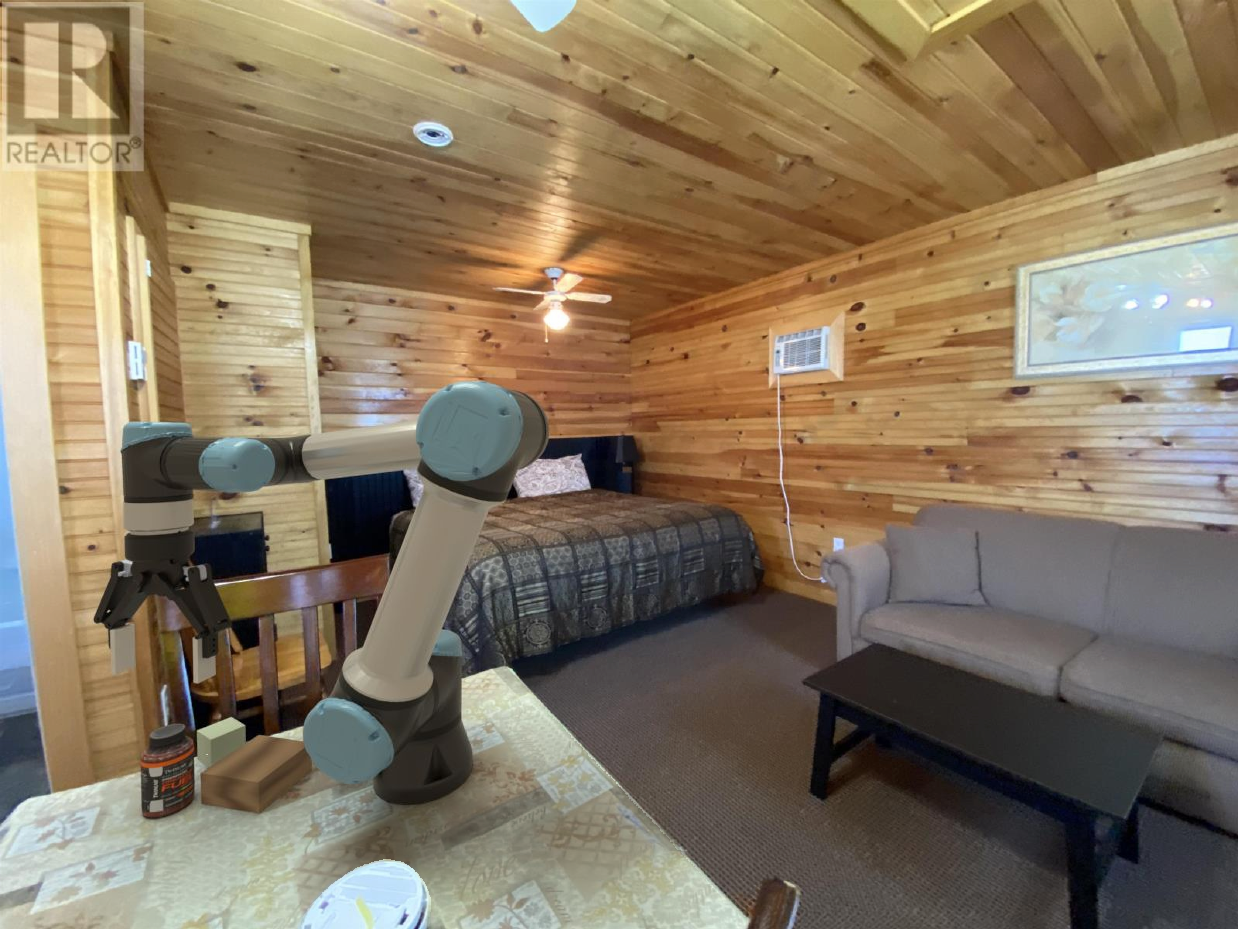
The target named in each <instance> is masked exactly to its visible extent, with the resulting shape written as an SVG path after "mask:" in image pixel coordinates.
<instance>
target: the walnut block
mask: <svg viewBox="0 0 1238 929" xmlns="http://www.w3.org/2000/svg"><path fill="white" fill-rule="evenodd" d="M312 771H313V762H312V761H311V757H310V755H309V754H308V753H307V751H306V749H305V745H304V741H303V740H298V739H297V740H296V739H290V738H283V737H276V736H269V735H262V734H259V735H256V736H255V737H253V738H251V740H249V741H246V744H244V745H243V746H241V747H240V748H238V749H237V750H235V751H233V752H232V753H230V754H229V755H227V756H226V757H224V758H223V759H221V760H220V761H218V762H216V763H215V764H213V765H212V766H210V767H207V768H205V769H204V770H202V771H201V772H200V804H201V805H205V806H206V805H207V806H212V807H216V808H217V807H218V808H222V809H230V810H235V811H242V812H247V813H253V814H258V815H260V814H261V813H262V812H263V811H265V810H266V809H267V808H268V807H269V806H270V805H271V804H273V803H274V802H275V801H276V800H278V799H279V798H280V797H281V796H283V795H284V794H286V792H288V790H290V789H291V788H292V787H294V786H295V785H296V784H298V782H300V781H301V780H302V779H303V778H304V777H305V776H307V775H309V773H311V772H312Z"/></svg>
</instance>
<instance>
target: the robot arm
mask: <svg viewBox="0 0 1238 929" xmlns="http://www.w3.org/2000/svg"><path fill="white" fill-rule="evenodd" d="M549 425H550V423H549V419H548V416H547V414H546V412H545V410H544V409H543V408H542V406H541V405H540V403H539V402H538V401H537V400H535V398H533V397H531V396H530V395H529V394H527V393H524V392H521V391H519V390H516V389H510V388H507V387H503V386H500V385H498V384H495V383H490V382H488V381H485V380H484V381H482V380H481V381H480V380H476V381H475V380H473V381H471V380H470V381H469V380H465V381H459V382H454V383H451V384H449V385H447V386H444V387H441V388H440V389H439V390H438V391H436V392H435V393H434V394H433V395H432V396H431V397H430V398H429V399H428V400H427V401H426V403H425V404H424V405H423V407H422V409H421V410H420V412H419V415H418V417H417V419H414V420H409V421H408V420H407V421H400V422H392V423H386V424H384V423H383V424H378V425H371V426H364V427H356V428H349V429H342V430H336V431H327V432H321V433H313V434H305V435H298V436H297V435H296V436H290V437H289V436H288V437H244V436H243V437H242V436H241V437H239V436H237V437H236V436H235V437H234V436H229V437H224V436H223V437H219V436H217V437H211V436H210V437H208V436H207V437H205V436H204V437H201V436H200V437H199V436H197V437H196V436H194V433H193V428H192V426H191V425H190V424H189V423H187V422H170V421H169V422H168V421H166V422H163V421H161V422H160V421H130V422H128V423H126V424H125V425H124V426H123V427H122V439H121V447H120V450H119V451H120V454H121V467H122V468H121V469H122V471H121V472H122V474H121V475H122V495H123V502H122V504H123V505H122V506H123V508H122V509H123V516H122V518H123V523H122V524H123V530H125V531H126V532H128V533H126V535H124V538H123V539H124V557H125V559H122V560H120V561H114V562H112V563H111V567H110V577H109V580H108V582H107V585H106V586H105V590H104V591H103V595H102V597H101V600H100V601H99V604H98V606H97V609H96V612H95V614H94V616H93V622H94V624H97V625H98V624H99V625H100V624H102V625H103V626H104V628H105V629H107V636H108V637H107V638H108V640H107V643H108V648H109V650H110V673H111V675H114V676H115V675H118V674H119V675H120V674H121V673H124V672H126V671H128V670H131V669H133V668H135V667H136V639H135V638H136V635H135V634H136V633H135V631H136V629H135V628H136V627H135V623H131V622H134V619H133V617H134V615H135V614H136V613H137V612H138V610H139V609H140V607H142V605H143V603H144V602H145V601H146V600H147V598H148V597H149V596H152V595H155V596H158V597H166V598H167V599H168V600H169V601H173V602H174V604H175V605H176V606H177V607H178V609H179V610H180V612H181V613H182V614H183V616H184V617H185V618H186V620H187V621H188V622H189V624H190V625H191V627H192V628H193V630H194V631H195V632H196V634H197V635H195V636H194V637H192V662H193V665H192V668H193V670H192V671H193V673H192V674H193V676H192V677H193V683H194V684H200V683H202V682H204V681H206V680H208V679H210V678H212V677H214V676H216V673H217V670H216V668H217V667H216V665H217V664H216V656H217V655H218V653H219V633H220V632H222V631H225V630H227V629H230V628H232V626H233V622H232V620H231V618H230V616H229V613H228V611H227V609H226V606H225V604H224V602H223V600H222V598H221V595H220V593H219V591H218V589H217V586H216V585H215V583H214V580H213V575H212V567H211V565H210V564H209V563H203V564H199V565H193V566H192V565H191V562H190V557H191V555H192V554H193V553H194V552H195V550H196V548H195V530H194V529H192V528H190V527H191V526H193V525H194V524H195V520H194V518H195V516H194V510H195V509H194V498H195V497H194V496H195V495H194V491H204V492H205V491H209V492H222V493H223V492H224V493H225V494H236V493H254V492H257V491H259V490H260V489H262V488H264V487H273V486H278V485H279V486H280V485H290V484H304V483H305V484H306V483H312V482H316V481H317V482H318V481H323V480H329V479H330V480H331V479H338V478H339V479H341V478H349V477H355V476H364V475H372V474H381V473H389V472H399V471H406V470H407V471H408V470H415V469H416V474H417V477H418V478H419V480H420V482H421V484H422V485H423V486H422V488H423V489H422V491H421V493H420V494H421V495H420V497H419V499H418V502H417V505H416V508H415V510H414V513H413V514H412V517H411V520H410V523H409V525H408V528H407V531H406V533H405V535H404V538H403V541H402V544H401V547H400V549H399V552H398V554H397V557H396V559H395V562H394V564H393V568H392V570H391V573H390V575H389V578H388V581H387V584H386V586H385V588H384V591H383V593H382V596H381V599H380V601H379V604H378V607H377V609H376V611H375V614H374V617H373V619H372V622H371V625H370V628H369V630H368V633H367V635H366V638H365V640H364V644H363V646H362V647H359V648H358V649H356V650H353V651H351V652H350V654H348V656H347V657H346V658H345V660H344V662H343V664H342V667H341V669H340V672H339V674H338V677H337V679H336V680H337V681H336V683H335V685H334V687H333V689H332V691H331V693H330V694H329V696H328V697H326V698H324V699H321V700H320V701H319V702H317V704H316V705H315V706H314V707H313V708H312V709H311V710H310V712H309V713H308V714H307V716H306V718H305V720H304V723H303V727H302V741H304V745H305V749H306V751H307V753H308V754H309V755H310V757H311V761H312V764H313V765H314V766H315V767H316V768H317V769H318V770H319V771H320V772H321V773H323V774H324V775H325V776H326V777H328V778H329V779H331V780H334V781H335V782H338V783H342V784H345V785H346V784H347V785H358V784H360V783H366V782H368V781H371V780H372V782H373V783H372V784H373V790H374V792H375V794H377V796H379V798H380V799H382V800H385V801H387V802H389V803H394V804H399V805H414V804H421V803H425V802H430V801H433V800H437V799H439V798H441V797H443V796H446V795H447V794H450V793H452V792H453V791H455V790H456V789H457V788H459V787H460V786H461V785H463V783H464V782H466V780H467V778H468V777H469V776H470V775H471V772H472V770H473V758H474V756H473V754H474V753H473V748H472V745H471V742H470V739H469V736H468V733H467V731H466V728H465V725H464V723H463V719H462V718H463V717H462V709H463V707H462V704H463V703H462V695H463V692H462V691H463V690H462V689H463V688H462V686H463V683H462V682H463V674H462V673H463V657H464V656H463V654H464V653H463V652H462V640H461V636H460V635H458V633H455V632H454V631H452V630H449V629H448V630H447V629H443V627H444V624H445V622H446V619H447V617H448V615H449V612H450V609H451V607H452V604H453V602H454V599H455V597H456V594H457V591H458V589H459V586H460V584H461V581H462V578H463V576H464V573H465V572H466V569H467V566H468V563H469V561H470V559H471V556H472V554H473V552H474V549H475V546H476V544H477V541H478V538H479V536H480V533H481V532H482V529H483V526H484V525H485V524H484V523H485V522H486V518H487V516H488V513H489V511H490V510H491V509H492V508H495V507H497V506H499V505H503V504H504V503H505V502H506V500H507V498H508V496H509V493H510V491H511V489H512V486H513V483H514V481H515V478H516V475H517V473H518V471H519V470H522V469H525V468H527V467H529V466H531V465H532V464H533V463H535V462H537V461H538V459H539V458H540V457H541V456H542V454H543V453H544V452H545V450H546V447H547V446H548V443H549V438H550V426H549ZM323 774H322V775H323Z"/></svg>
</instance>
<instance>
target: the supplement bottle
mask: <svg viewBox="0 0 1238 929" xmlns="http://www.w3.org/2000/svg"><path fill="white" fill-rule="evenodd" d="M186 733H187V732H186V725H185V724H184V723H183V724H182V723H173V724H167V725H164V726H161V727H158V728H157V729H155V730H153V731H152V732H151V733H150V734H149V737H148V738H149V742H148V743H149V745H148V746H147V747H146V748H145V749H144V750H143V752H142V753H141V756H140V795H141V797H140V800H141V802H140V805H141V806H140V807H141V813H142V815H143V816H145V817H148V818H161V817H165V816H166V817H167V816H168V815H171V814H174V813H175V812H178V811H180V810H182V809H183V808H185V807H186V806H187V805H188V804H190V803H191V801H192V800H193V799H194V797H195V790H196V789H195V788H196V787H195V783H196V781H195V743H194V739H192V738H191V737H190V736H187V734H186Z"/></svg>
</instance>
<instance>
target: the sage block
mask: <svg viewBox="0 0 1238 929" xmlns="http://www.w3.org/2000/svg"><path fill="white" fill-rule="evenodd" d="M246 736H247V735H246V725H245V724H244V723H242V722H240V721H239V720H237V719H235V718H234V717H232V716H230V717H228V718H225V719H223V720H221V721H218V722H215V723H212V724H210V725H207V726H206V727H202V728H199V729H197V730H196V743H197V744H196V745H197V747H196V748H197V751H196V752H197V760H198V761H200V762H202V764H204V765H205V766H207V768H209V767H210V766H212V765H213V764H215V763H216V762H218V761H220V760H221V759H223V758H224V757H226V756H227V755H229V754H230V753H232V752H233V751H235V750H237V749H238V748H240V747H241V746H243V745H244V744H246V743H247V740H246V738H247V737H246ZM206 754H208V755H206Z"/></svg>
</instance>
